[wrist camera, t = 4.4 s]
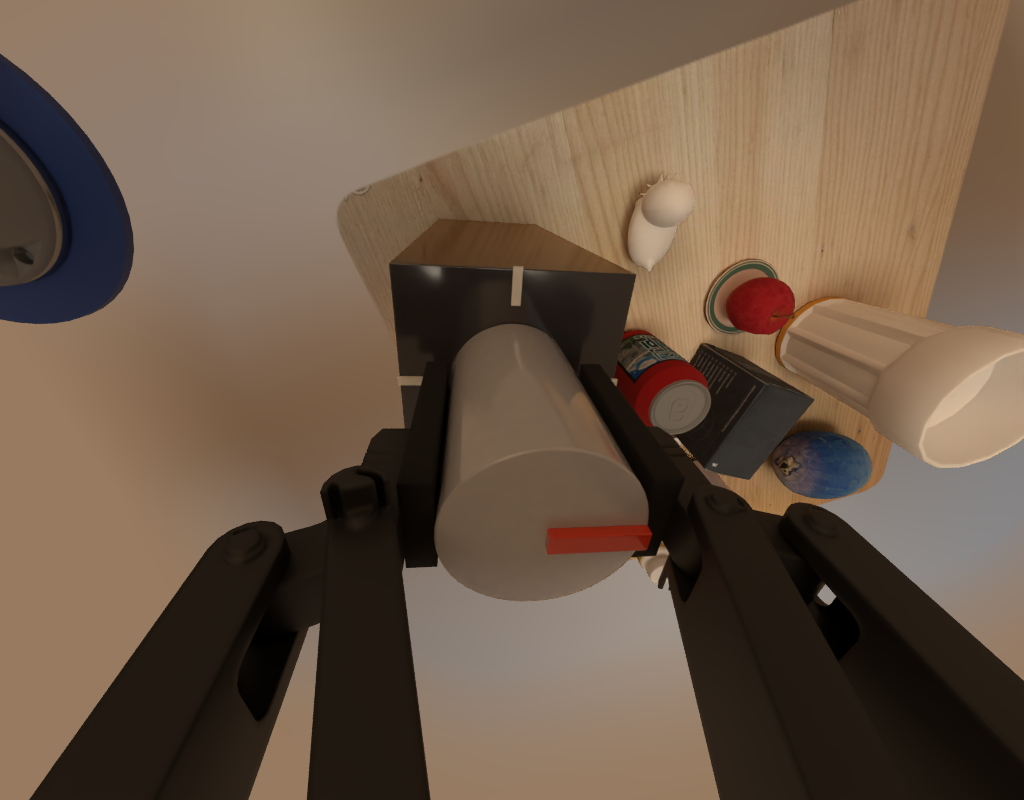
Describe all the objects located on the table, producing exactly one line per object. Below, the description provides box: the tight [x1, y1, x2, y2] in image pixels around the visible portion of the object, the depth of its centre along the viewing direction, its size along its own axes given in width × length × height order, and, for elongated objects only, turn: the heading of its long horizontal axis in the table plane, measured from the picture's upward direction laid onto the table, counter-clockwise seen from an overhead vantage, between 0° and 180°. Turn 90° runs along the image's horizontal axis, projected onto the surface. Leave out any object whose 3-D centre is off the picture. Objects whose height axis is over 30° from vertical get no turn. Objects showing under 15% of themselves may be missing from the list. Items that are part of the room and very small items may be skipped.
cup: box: [776, 297, 1024, 468], centre depth 36 cm, size 11×11×17 cm
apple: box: [706, 260, 795, 335], centre depth 37 cm, size 8×8×6 cm
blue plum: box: [773, 431, 872, 499], centre depth 48 cm, size 9×9×15 cm
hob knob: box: [434, 324, 652, 601], centre depth 12 cm, size 5×5×8 cm
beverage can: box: [614, 330, 711, 435], centre depth 37 cm, size 7×7×12 cm
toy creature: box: [627, 172, 695, 272], centre depth 33 cm, size 5×8×6 cm, turn 176°
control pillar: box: [389, 219, 636, 429], centre depth 26 cm, size 9×9×24 cm
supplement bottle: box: [637, 541, 669, 584], centre depth 53 cm, size 5×5×8 cm
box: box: [674, 344, 814, 480], centre depth 41 cm, size 11×7×10 cm, turn 160°
